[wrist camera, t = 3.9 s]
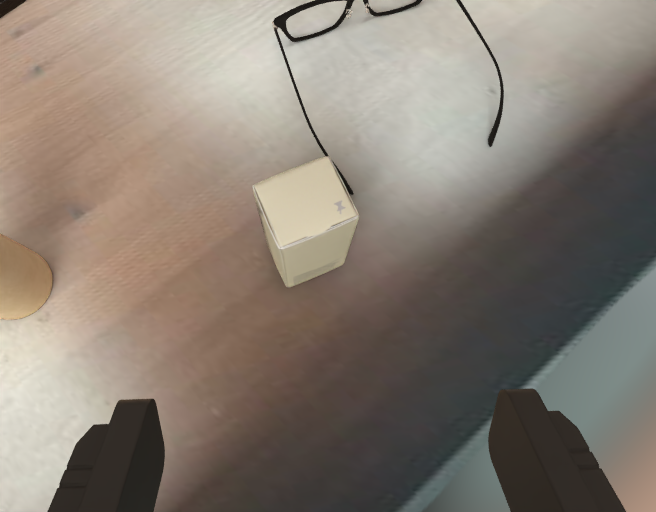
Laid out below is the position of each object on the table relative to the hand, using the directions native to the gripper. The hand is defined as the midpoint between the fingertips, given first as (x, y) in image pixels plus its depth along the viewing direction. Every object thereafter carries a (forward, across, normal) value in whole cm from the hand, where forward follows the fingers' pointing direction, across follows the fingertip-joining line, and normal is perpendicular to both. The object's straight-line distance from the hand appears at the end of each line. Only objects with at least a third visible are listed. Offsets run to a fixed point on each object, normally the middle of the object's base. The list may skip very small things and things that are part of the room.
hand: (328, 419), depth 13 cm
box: (+28, 0, +12) cm, 31 cm away
